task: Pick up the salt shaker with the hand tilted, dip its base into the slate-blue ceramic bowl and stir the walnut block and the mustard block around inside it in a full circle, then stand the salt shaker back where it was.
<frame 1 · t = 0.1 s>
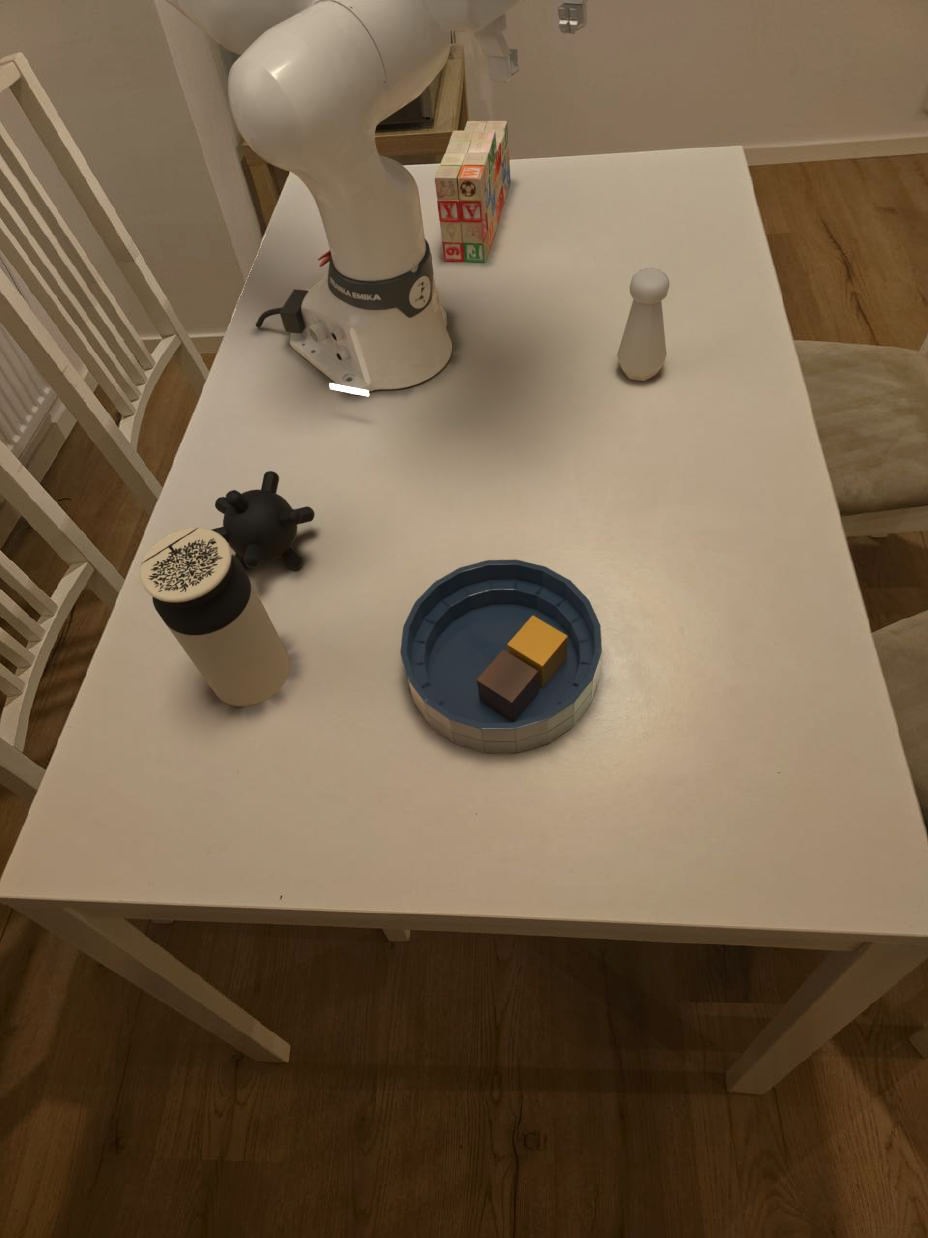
hand: (540, 53, 65), 39 cm above the table, tool pointing down, fingers open, 8 cm apart
bowl: (503, 668, 78), on the table
travel mug: (252, 673, 81), on the table
walnut block: (509, 696, 76), point 1 cm above the table, touching bowl
salt shaker: (639, 371, 100), on the table
stack of blocks: (478, 221, 122), on the table
toy ball: (270, 551, 89), on the table
mustard block: (537, 662, 78), point 1 cm above the table, touching bowl
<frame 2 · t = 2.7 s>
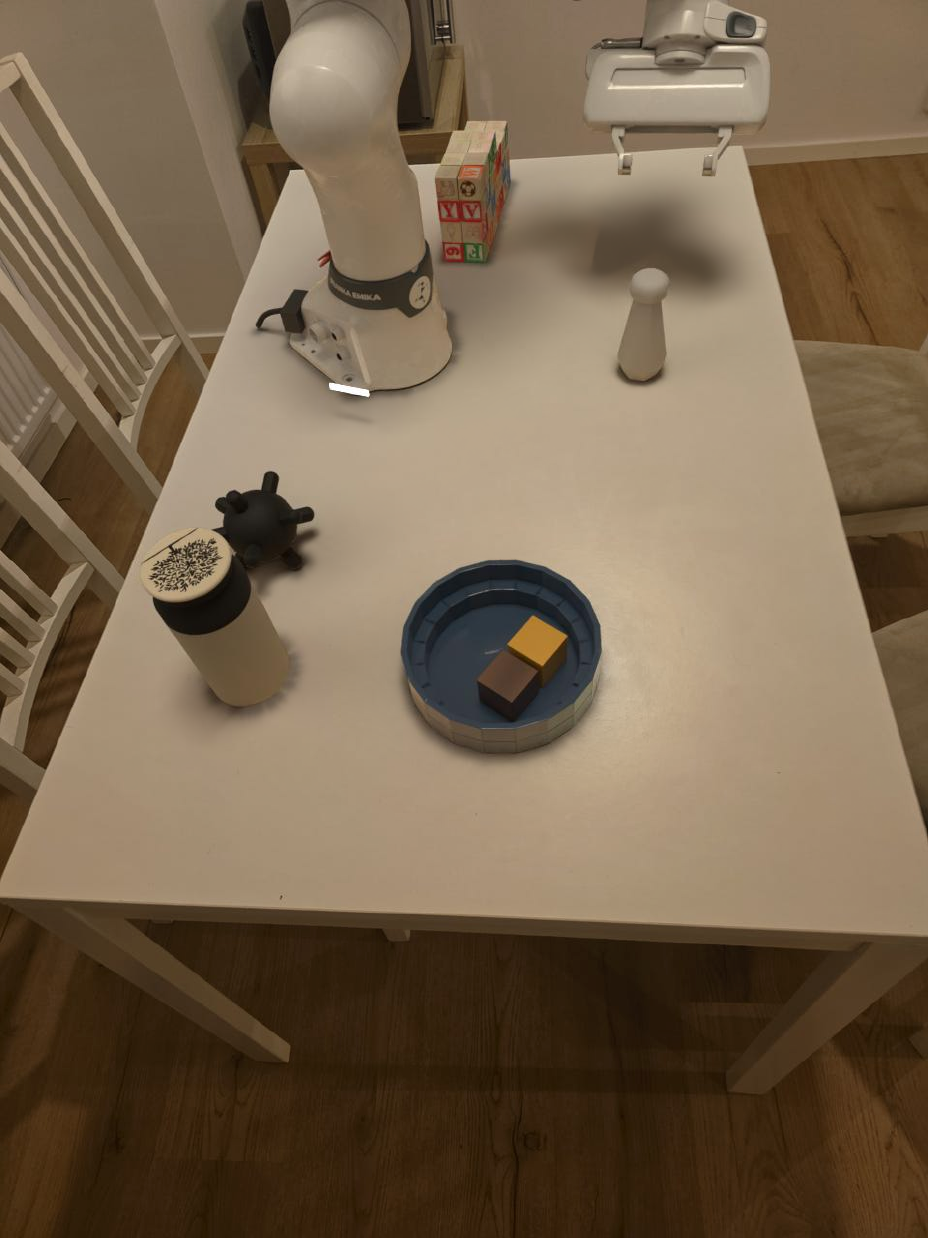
hand: (665, 174, 92), 18 cm above the table, tool tilted 45°, fingers open, 8 cm apart
nothing on the table moved.
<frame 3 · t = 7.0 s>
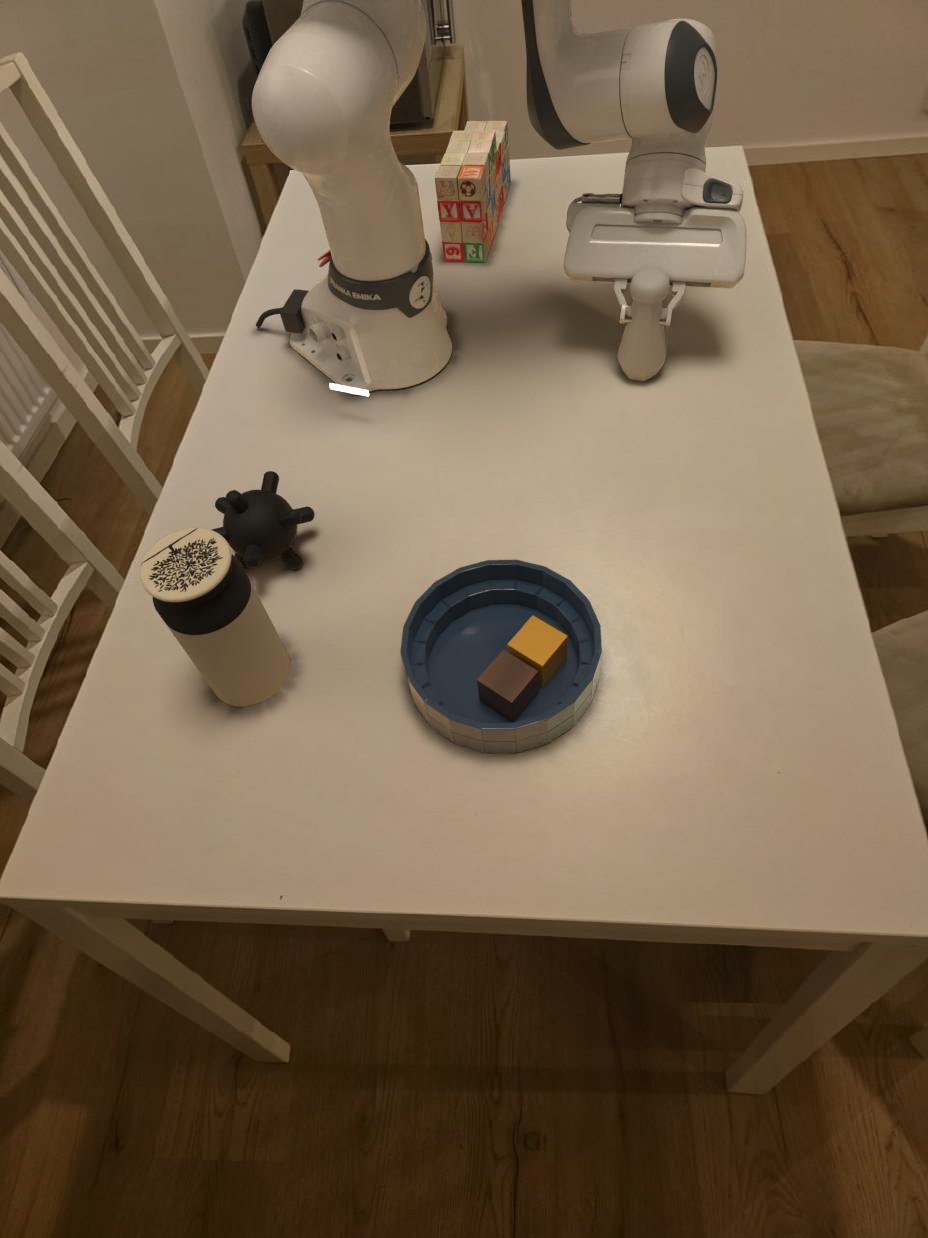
hand: (644, 324, 94), 7 cm above the table, tool tilted 45°, fingers closed on salt shaker, 3 cm apart
salt shaker: (639, 371, 100), on the table, touching gripper
everything else where it was.
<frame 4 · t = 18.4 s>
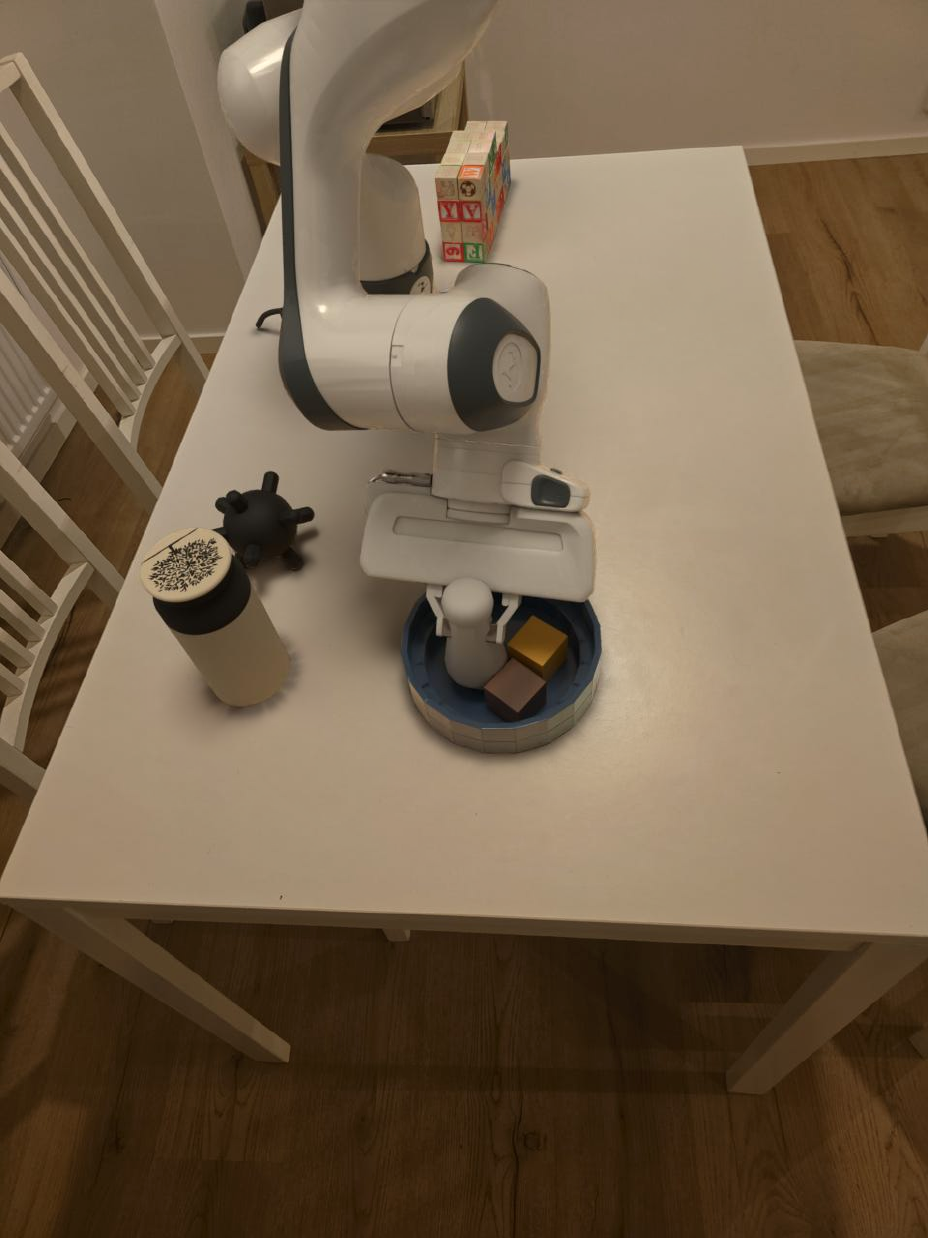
hand: (470, 639, 70), 8 cm above the table, tool tilted 45°, fingers closed on salt shaker, 3 cm apart
walnut block: (516, 705, 75), point 1 cm above the table, touching bowl, salt shaker
salt shaker: (478, 672, 77), point 1 cm above the table, touching gripper, walnut block
everything else where it was.
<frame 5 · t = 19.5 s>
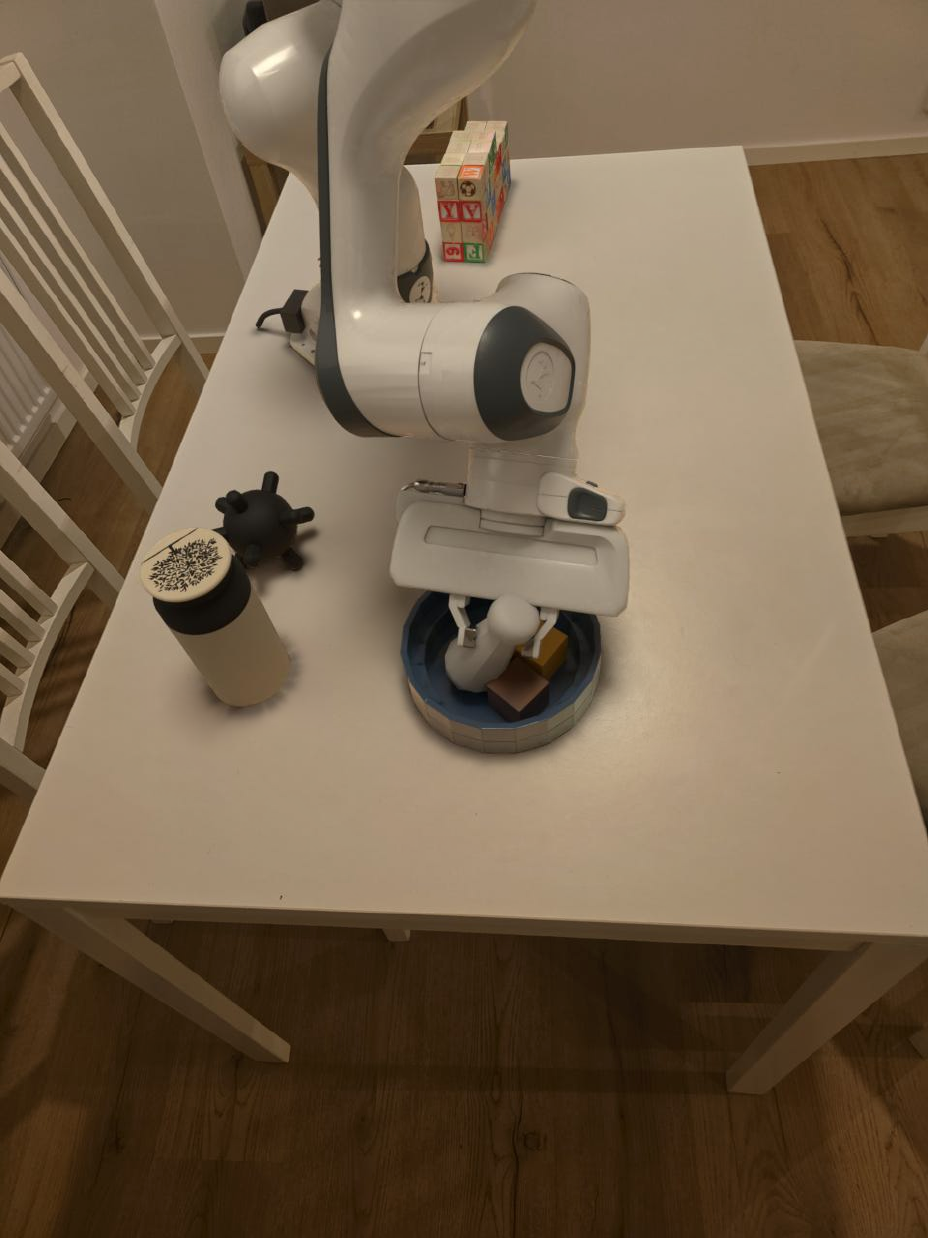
hand: (499, 651, 69), 8 cm above the table, tool tilted 45°, fingers closed on salt shaker, 4 cm apart
salt shaker: (465, 672, 77), point 1 cm above the table, touching gripper, walnut block
everything else where it was.
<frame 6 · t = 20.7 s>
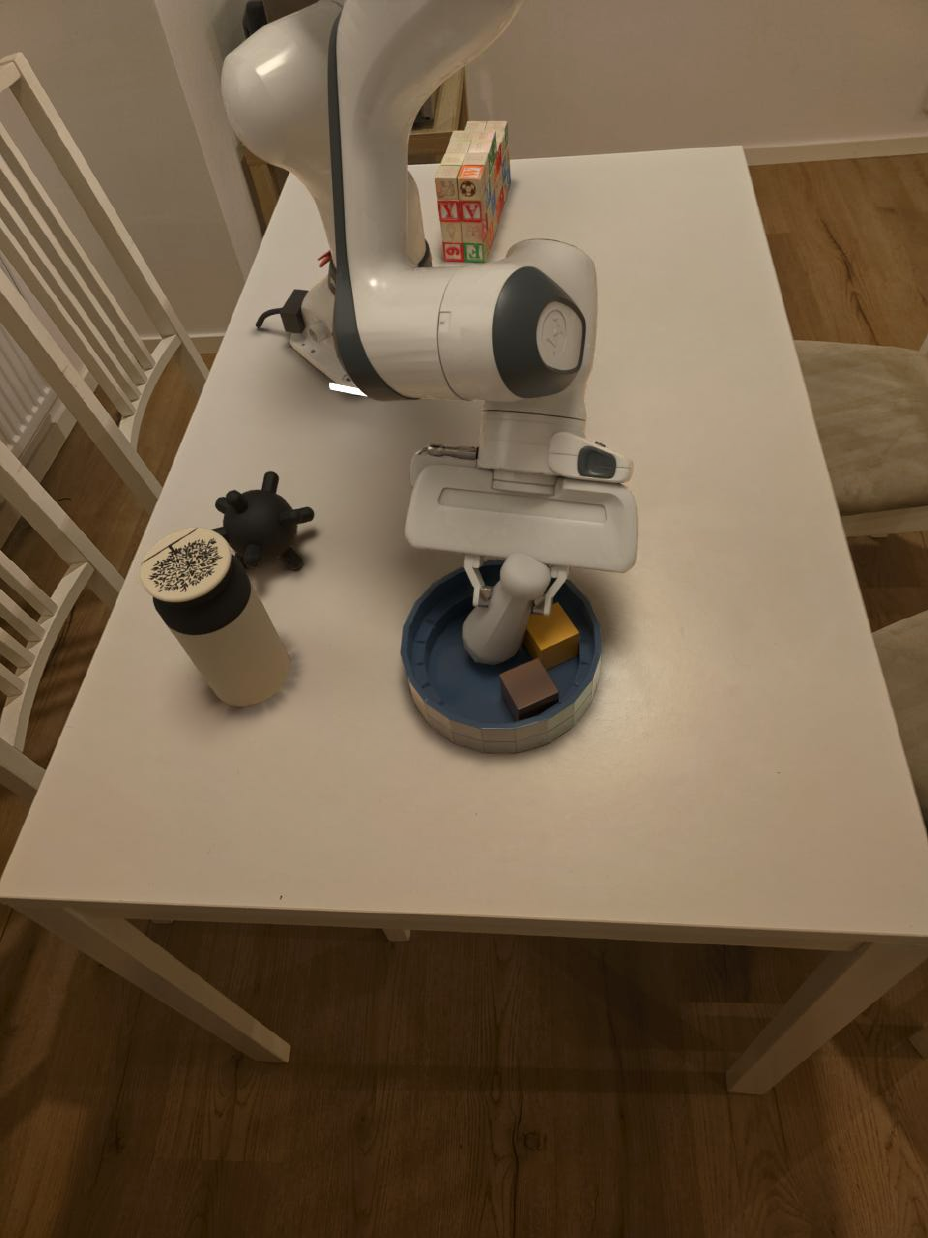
hand: (512, 610, 72), 9 cm above the table, tool tilted 45°, fingers closed on salt shaker, 4 cm apart
walnut block: (529, 704, 75), point 1 cm above the table, touching bowl
salt shaker: (483, 648, 78), point 1 cm above the table, touching bowl, gripper, mustard block
mustard block: (549, 648, 78), point 1 cm above the table, touching bowl, salt shaker
everything else where it was.
when the fingers open (8 cm above the table, at t = 33.3 s): salt shaker stays where it is, on the table.
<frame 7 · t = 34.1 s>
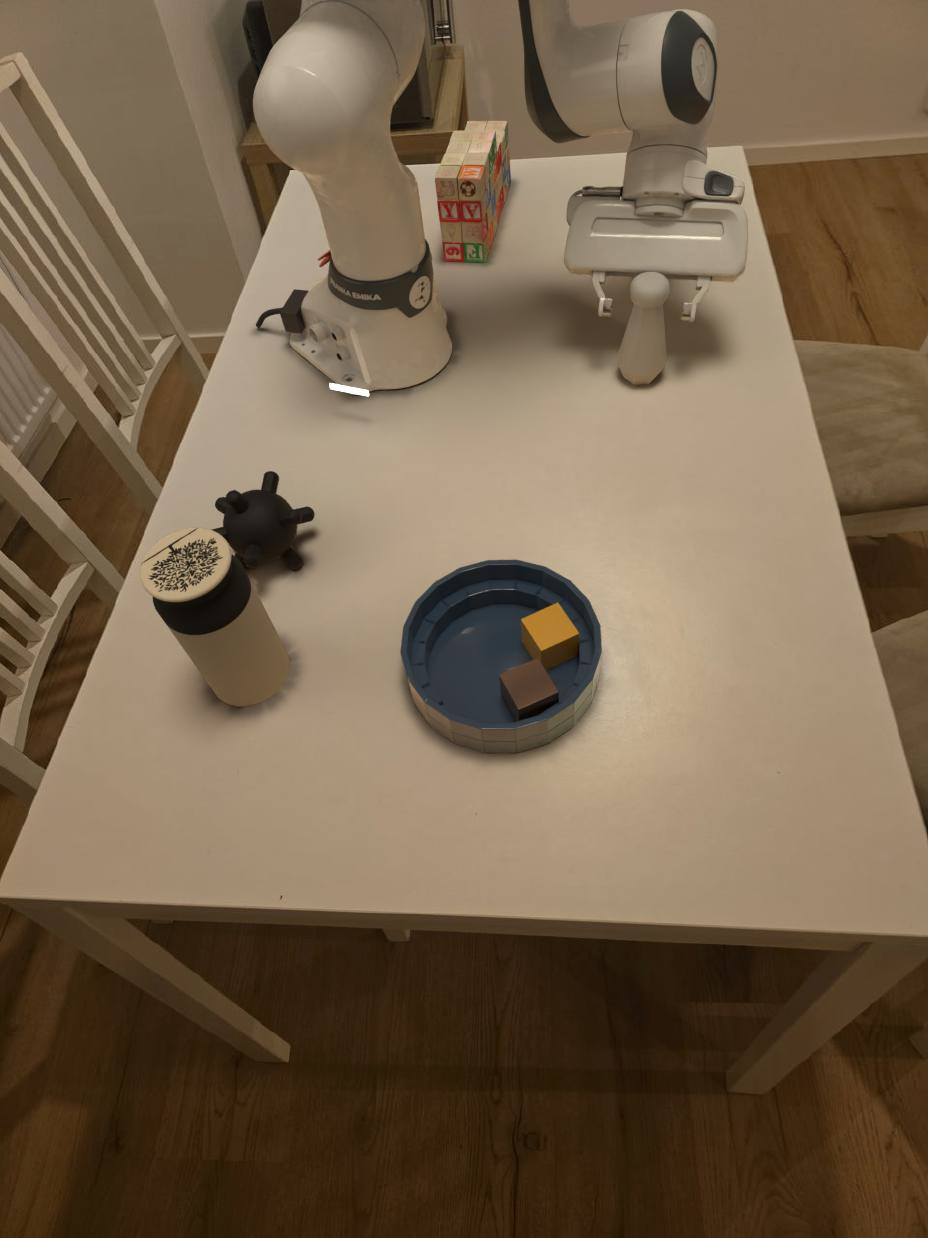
hand: (645, 318, 93), 8 cm above the table, tool tilted 45°, fingers open, 8 cm apart
salt shaker: (640, 375, 100), on the table
mustard block: (549, 648, 78), point 1 cm above the table, touching bowl
everything else where it was.
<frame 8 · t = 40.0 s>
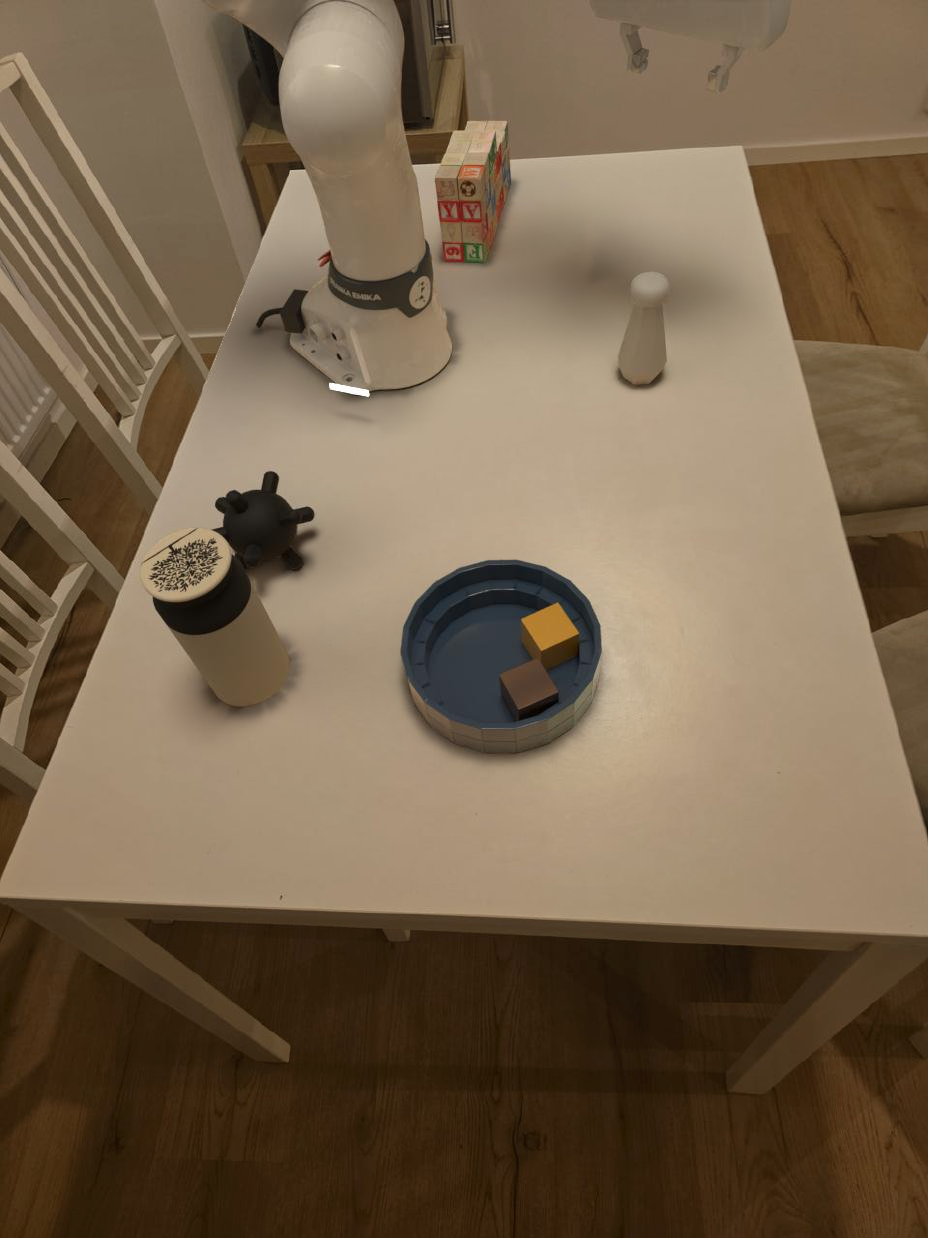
hand: (675, 79, 85), 27 cm above the table, tool pointing down, fingers open, 8 cm apart
nothing on the table moved.
at the end: walnut block moved 2.1 cm from its start; walnut block inside the target area in the bowl (4.8 cm from its centre), point 0.6 cm above the bowl's base; salt shaker inside the target area (0.7 cm from its centre), on the table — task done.
